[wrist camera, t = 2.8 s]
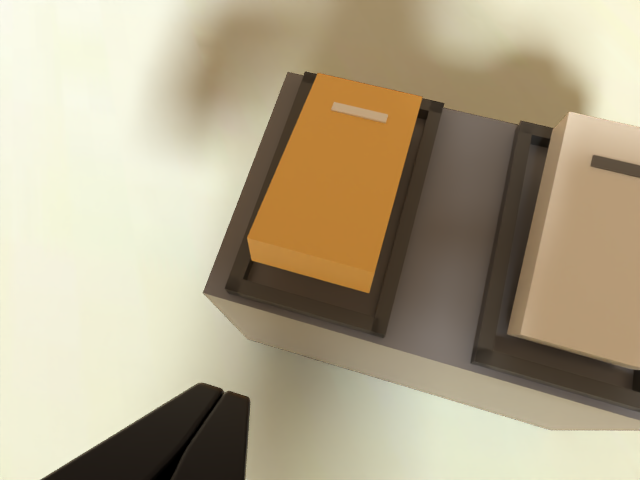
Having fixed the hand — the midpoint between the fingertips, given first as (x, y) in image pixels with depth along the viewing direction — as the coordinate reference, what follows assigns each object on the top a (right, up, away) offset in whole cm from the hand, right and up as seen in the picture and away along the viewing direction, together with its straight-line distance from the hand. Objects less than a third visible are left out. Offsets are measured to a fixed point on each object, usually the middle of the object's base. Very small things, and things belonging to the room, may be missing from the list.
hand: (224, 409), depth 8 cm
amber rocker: (+2, +4, +6) cm, 8 cm away
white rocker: (+9, +3, +5) cm, 11 cm away
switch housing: (+6, 0, +15) cm, 16 cm away
